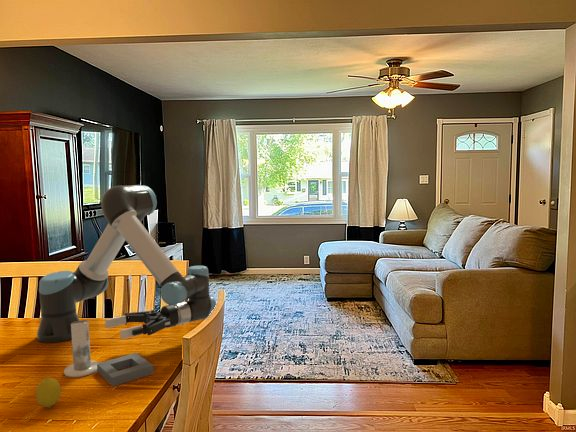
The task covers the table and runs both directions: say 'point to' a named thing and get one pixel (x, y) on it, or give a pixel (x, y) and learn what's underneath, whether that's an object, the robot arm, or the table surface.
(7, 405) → the table surface
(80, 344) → the metal part
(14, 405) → the table surface
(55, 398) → the lemon
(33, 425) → the table surface
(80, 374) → the coaster
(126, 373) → the pocket board
